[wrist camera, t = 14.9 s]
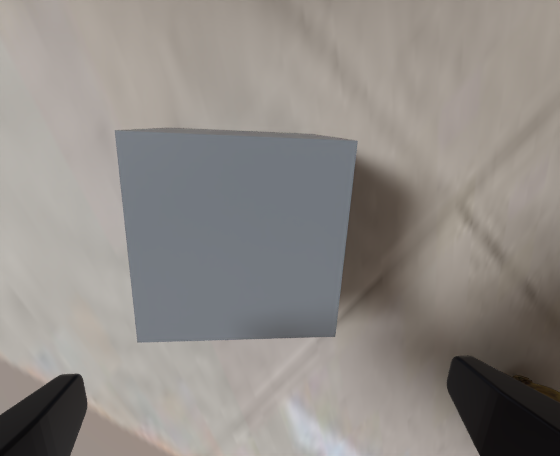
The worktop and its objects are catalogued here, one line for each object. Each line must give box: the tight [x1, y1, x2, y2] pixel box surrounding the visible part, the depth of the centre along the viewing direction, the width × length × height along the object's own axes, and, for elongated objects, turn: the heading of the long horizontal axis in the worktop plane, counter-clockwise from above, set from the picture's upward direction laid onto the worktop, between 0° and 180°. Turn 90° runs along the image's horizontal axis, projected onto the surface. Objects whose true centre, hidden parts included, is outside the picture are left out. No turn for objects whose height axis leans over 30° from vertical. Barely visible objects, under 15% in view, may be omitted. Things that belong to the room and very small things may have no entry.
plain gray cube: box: [115, 128, 358, 342], centre depth 15 cm, size 8×8×7 cm
